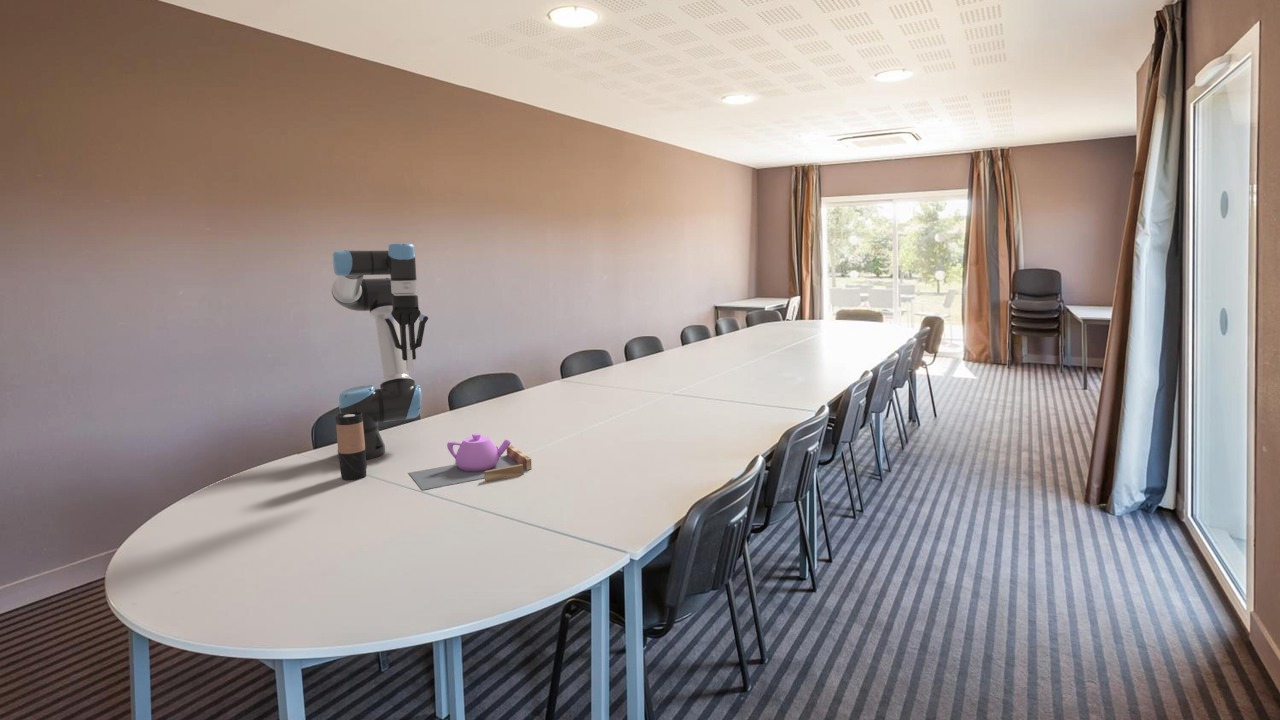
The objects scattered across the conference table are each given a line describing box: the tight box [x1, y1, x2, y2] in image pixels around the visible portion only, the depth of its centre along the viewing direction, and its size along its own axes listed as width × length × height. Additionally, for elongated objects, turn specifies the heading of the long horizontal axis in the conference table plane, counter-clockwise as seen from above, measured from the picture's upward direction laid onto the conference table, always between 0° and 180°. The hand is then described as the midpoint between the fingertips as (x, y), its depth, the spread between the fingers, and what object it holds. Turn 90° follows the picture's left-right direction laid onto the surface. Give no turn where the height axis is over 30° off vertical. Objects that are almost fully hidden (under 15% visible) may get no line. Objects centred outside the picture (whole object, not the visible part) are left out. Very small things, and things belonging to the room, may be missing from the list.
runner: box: [408, 454, 531, 491], centre depth 204 cm, size 18×34×1 cm, turn 122°
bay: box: [484, 444, 533, 483], centre depth 209 cm, size 24×16×4 cm, turn 32°
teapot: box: [446, 433, 512, 472], centre depth 208 cm, size 14×20×11 cm
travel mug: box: [335, 412, 367, 482], centre depth 198 cm, size 8×8×20 cm
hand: (409, 370), depth 201 cm, fingers closed
